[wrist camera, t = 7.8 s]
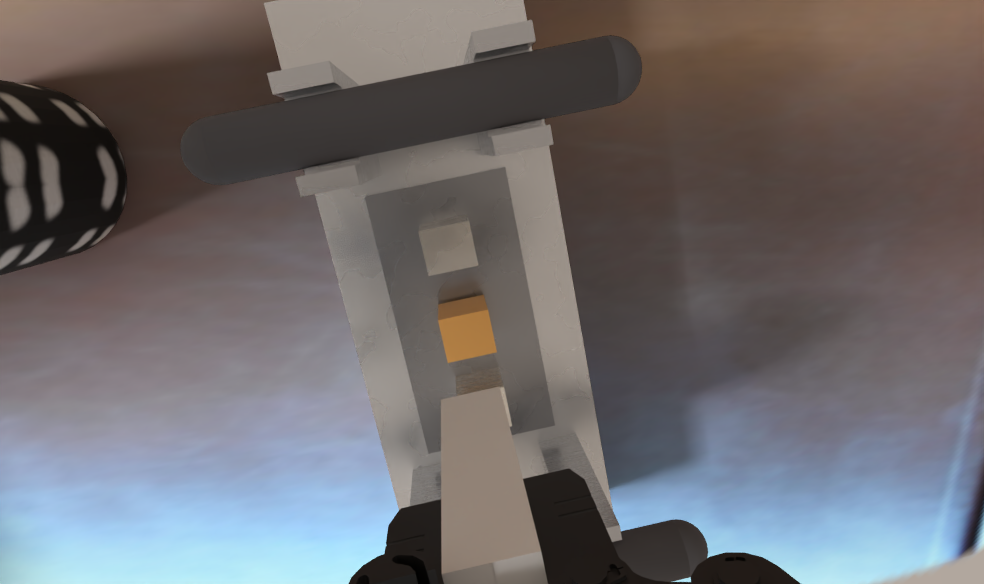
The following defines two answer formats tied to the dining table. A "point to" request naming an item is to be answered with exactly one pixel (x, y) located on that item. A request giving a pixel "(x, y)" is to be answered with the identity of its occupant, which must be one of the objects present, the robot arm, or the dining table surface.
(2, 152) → the spotted tube
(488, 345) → the breaker paddle
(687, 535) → the dark grey bar handle
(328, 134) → the dark grey rod
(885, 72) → the dining table surface
